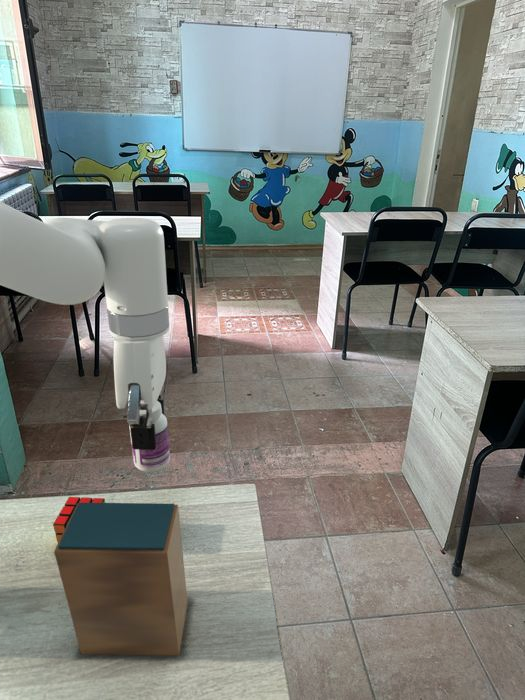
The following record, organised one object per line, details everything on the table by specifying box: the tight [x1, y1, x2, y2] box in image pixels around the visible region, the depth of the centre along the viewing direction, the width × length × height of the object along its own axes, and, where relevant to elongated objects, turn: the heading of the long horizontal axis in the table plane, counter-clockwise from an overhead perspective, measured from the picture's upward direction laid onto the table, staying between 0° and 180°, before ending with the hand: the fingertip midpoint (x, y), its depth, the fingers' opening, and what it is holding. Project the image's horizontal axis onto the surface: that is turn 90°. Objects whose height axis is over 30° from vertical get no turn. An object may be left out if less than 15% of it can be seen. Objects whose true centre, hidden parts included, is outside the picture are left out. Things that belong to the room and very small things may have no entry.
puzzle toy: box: [52, 496, 106, 543], centre depth 73 cm, size 6×6×6 cm
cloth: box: [58, 502, 175, 550], centre depth 54 cm, size 11×6×1 cm, turn 89°
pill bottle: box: [129, 400, 171, 473], centre depth 69 cm, size 5×5×10 cm
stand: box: [53, 503, 188, 656], centre depth 58 cm, size 12×7×18 cm, turn 89°
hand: (149, 434), depth 69 cm, fingers closed on pill bottle, 5 cm apart
